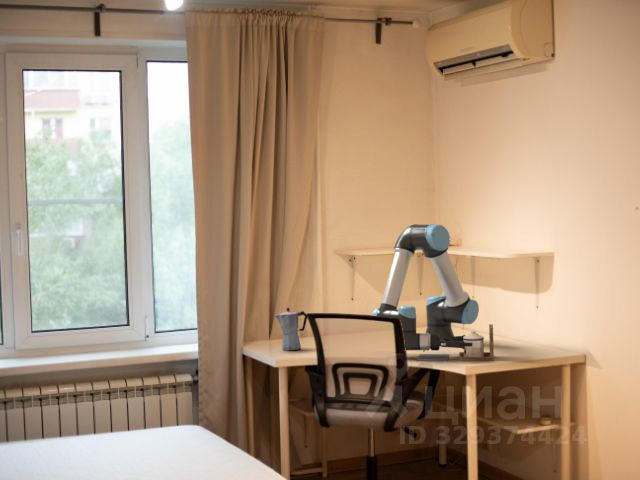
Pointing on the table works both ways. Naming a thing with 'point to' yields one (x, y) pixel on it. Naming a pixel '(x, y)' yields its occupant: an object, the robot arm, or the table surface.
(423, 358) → the slate mat
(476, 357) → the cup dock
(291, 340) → the moka pot
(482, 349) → the teacup with lid
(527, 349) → the table surface
